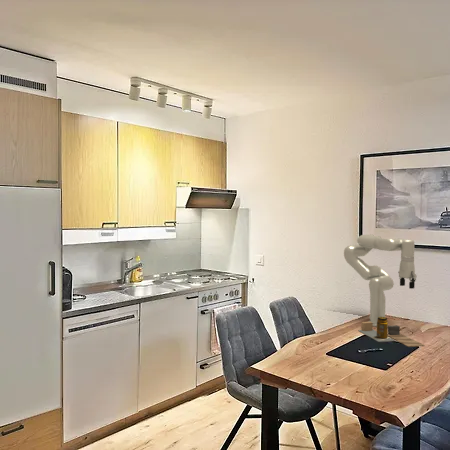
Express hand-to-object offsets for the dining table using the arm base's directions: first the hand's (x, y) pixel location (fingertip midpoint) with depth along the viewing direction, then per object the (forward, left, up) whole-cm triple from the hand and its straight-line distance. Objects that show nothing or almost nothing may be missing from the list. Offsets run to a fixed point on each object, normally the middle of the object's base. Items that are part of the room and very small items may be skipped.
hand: (407, 287), depth 275 cm
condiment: (+10, -23, -28) cm, 38 cm away
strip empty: (+15, -12, -28) cm, 34 cm away
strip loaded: (+4, -23, -28) cm, 37 cm away
